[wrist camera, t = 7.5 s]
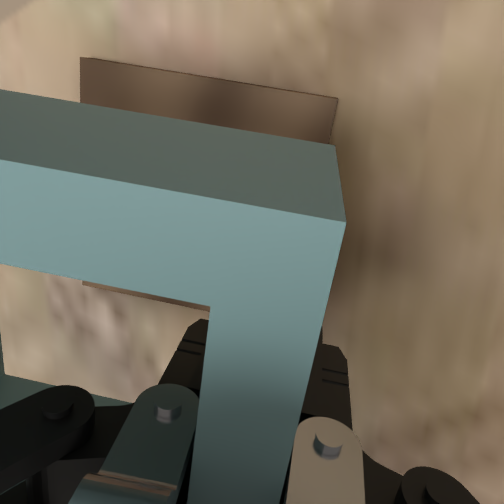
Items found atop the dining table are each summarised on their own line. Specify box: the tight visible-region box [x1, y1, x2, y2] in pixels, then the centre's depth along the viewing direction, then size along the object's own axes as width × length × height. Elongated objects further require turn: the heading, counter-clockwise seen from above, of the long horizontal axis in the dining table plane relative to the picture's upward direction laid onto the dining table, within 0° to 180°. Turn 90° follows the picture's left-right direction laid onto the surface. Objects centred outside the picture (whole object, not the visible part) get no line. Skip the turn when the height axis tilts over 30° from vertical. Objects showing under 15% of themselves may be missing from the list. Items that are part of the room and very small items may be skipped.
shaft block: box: [80, 57, 338, 312], centre depth 21 cm, size 12×12×4 cm
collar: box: [0, 89, 346, 504], centre depth 11 cm, size 11×11×6 cm
